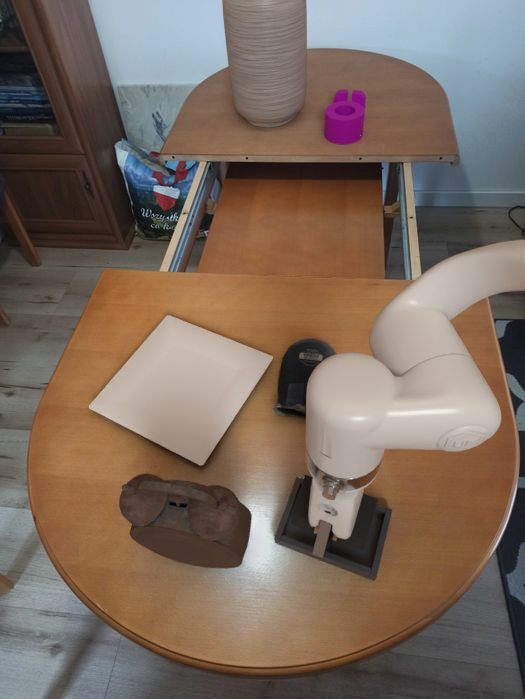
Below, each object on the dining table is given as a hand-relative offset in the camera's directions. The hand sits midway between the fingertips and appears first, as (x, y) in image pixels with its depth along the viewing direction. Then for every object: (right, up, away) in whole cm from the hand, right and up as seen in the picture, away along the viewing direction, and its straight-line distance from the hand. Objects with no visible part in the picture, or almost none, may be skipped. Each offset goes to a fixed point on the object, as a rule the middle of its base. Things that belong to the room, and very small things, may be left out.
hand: (334, 514), depth 63 cm
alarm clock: (-17, -5, +4) cm, 19 cm away
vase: (-7, +87, +75) cm, 115 cm away
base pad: (+1, -3, +4) cm, 5 cm away
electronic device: (-2, +16, +20) cm, 25 cm away
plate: (-22, +15, +21) cm, 33 cm away
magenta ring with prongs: (+13, +80, +68) cm, 106 cm away
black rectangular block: (0, 0, +1) cm, 1 cm away
